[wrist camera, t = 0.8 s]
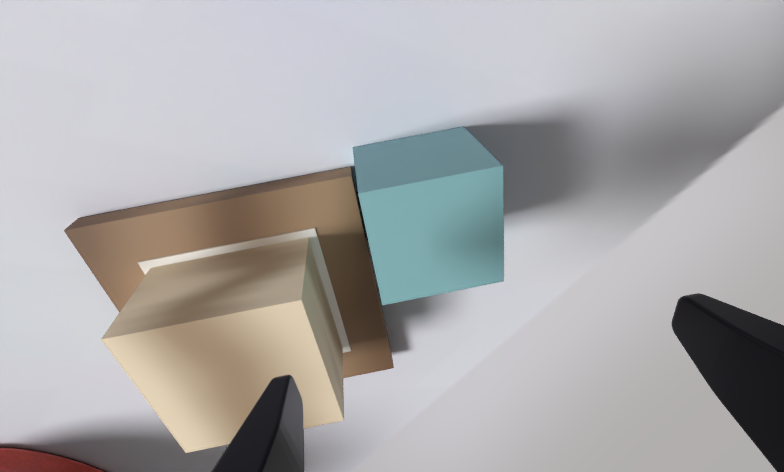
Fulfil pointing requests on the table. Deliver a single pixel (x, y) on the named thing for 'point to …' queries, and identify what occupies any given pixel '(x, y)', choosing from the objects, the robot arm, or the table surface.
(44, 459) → the stacking bear
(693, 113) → the table surface
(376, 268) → the teal block
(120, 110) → the table surface
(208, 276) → the beech block
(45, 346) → the table surface
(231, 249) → the walnut board
